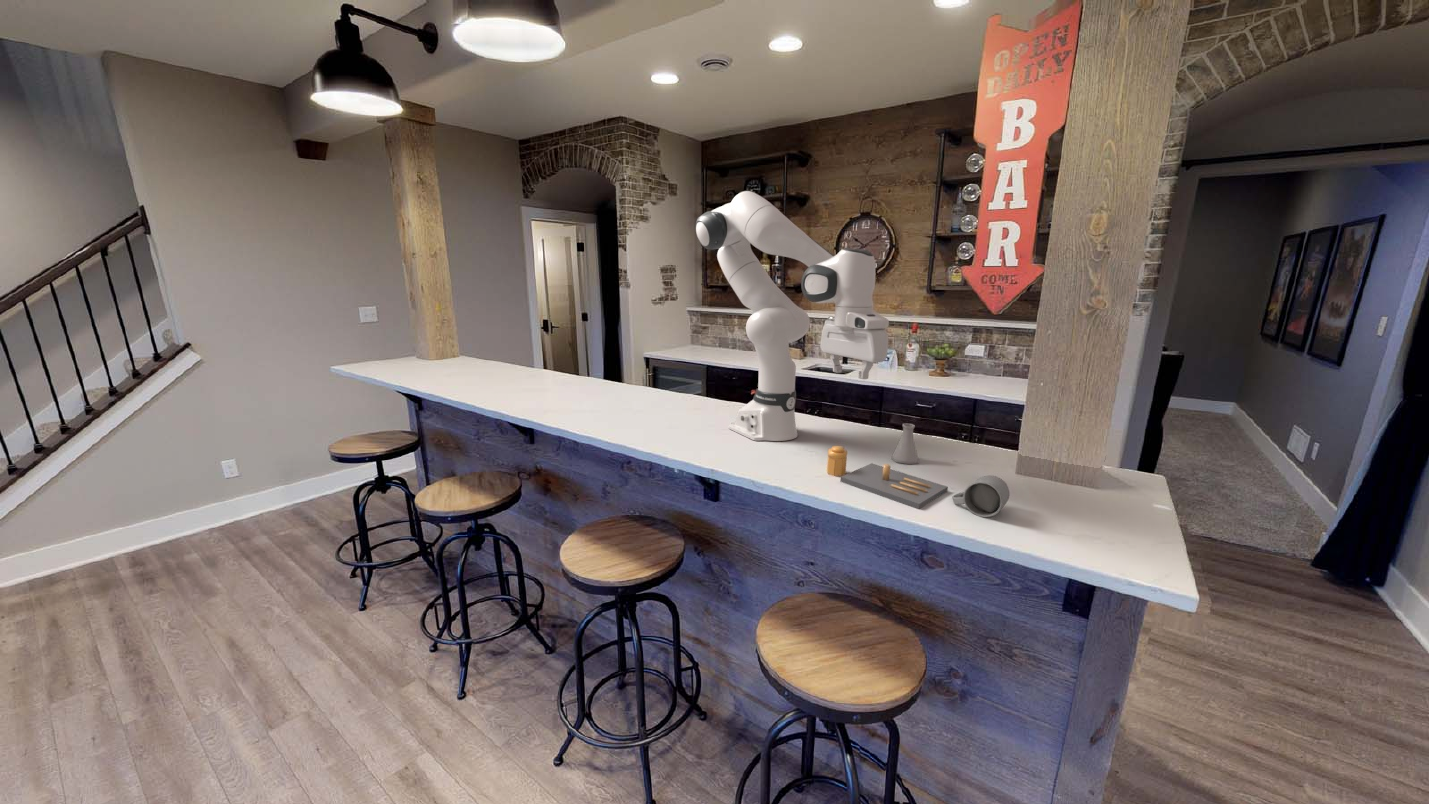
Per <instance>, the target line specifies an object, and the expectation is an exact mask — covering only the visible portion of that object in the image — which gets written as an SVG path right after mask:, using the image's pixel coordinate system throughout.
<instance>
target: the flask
mask: <svg viewBox="0 0 1429 804" xmlns="http://www.w3.org/2000/svg"><path fill="white" fill-rule="evenodd" d="M915 427H916V426H915V424H913V423H902V432H901V433H902V434H901V437H900V439H899V441H898V443H897V446H896V447H895V450H894V452H893V454H892V456H891V460H893V461H894V462H896V463H899V464H904V465H905V464H907V465H913V464H914V465H915V464H919V461H920V460H919V456H918V452H917V449H916V444H915V439H914V429H915Z"/></svg>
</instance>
